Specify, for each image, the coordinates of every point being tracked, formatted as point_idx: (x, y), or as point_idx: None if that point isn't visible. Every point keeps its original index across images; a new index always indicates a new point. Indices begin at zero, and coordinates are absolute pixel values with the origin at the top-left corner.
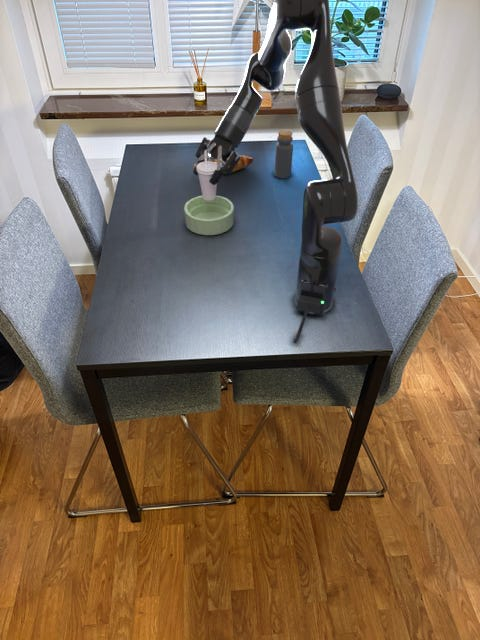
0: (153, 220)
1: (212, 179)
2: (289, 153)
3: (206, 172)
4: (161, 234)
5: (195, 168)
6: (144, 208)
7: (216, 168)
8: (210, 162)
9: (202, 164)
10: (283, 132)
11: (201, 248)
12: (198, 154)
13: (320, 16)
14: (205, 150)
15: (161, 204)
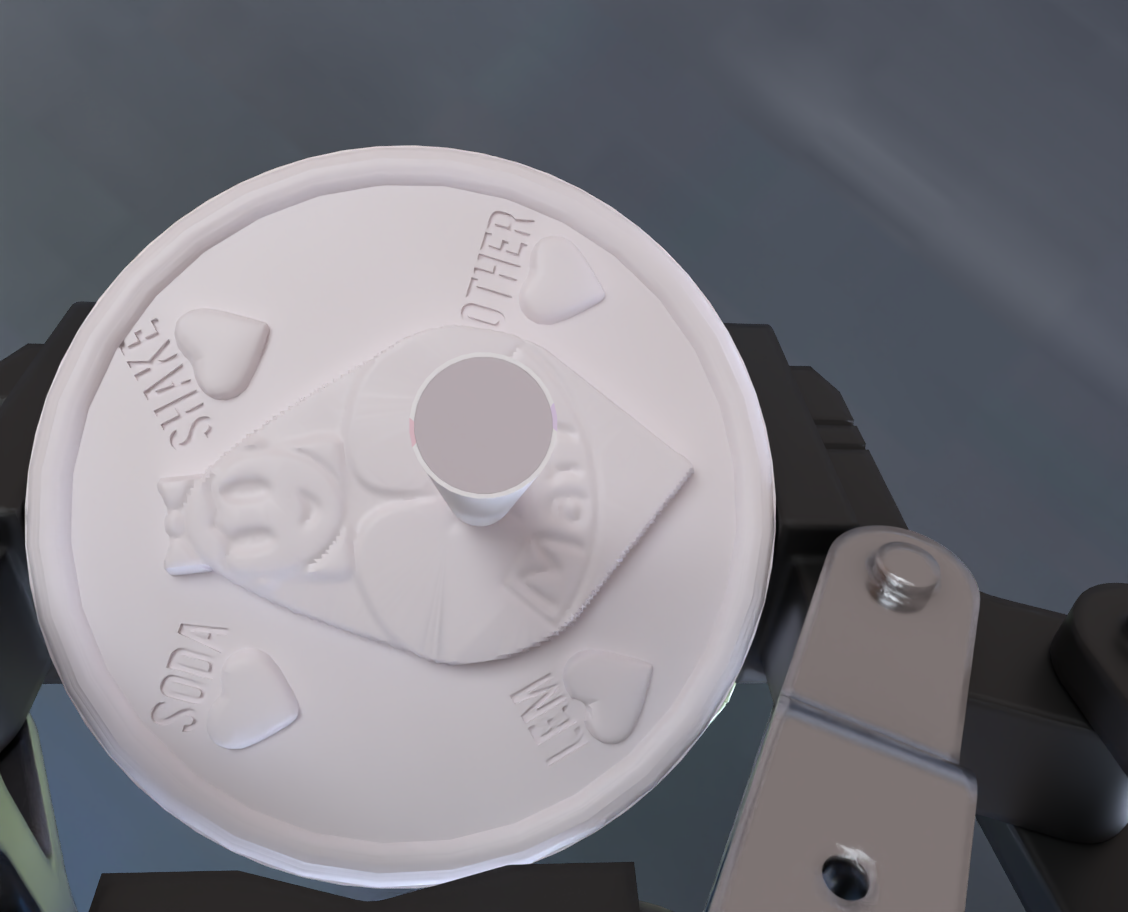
0: (888, 157)
1: (51, 342)
2: None
3: (187, 248)
4: (638, 56)
5: (780, 373)
6: (1123, 232)
7: (73, 610)
8: (568, 764)
9: (594, 428)
10: None
11: (175, 164)
12: (1119, 662)
13: None
14: (508, 445)
15: (1080, 401)
